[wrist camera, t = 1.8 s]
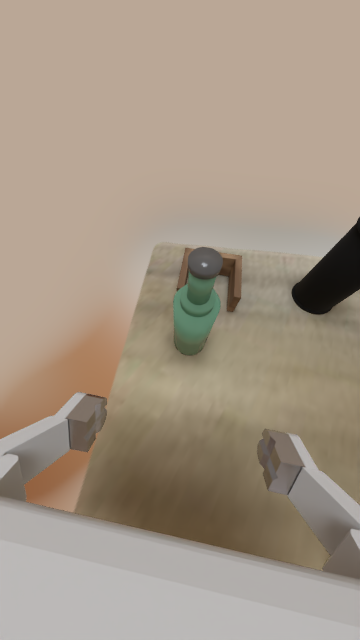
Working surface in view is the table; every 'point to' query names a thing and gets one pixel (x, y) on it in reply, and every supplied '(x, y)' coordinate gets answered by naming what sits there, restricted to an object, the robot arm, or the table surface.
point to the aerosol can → (332, 276)
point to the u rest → (229, 268)
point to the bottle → (197, 301)
